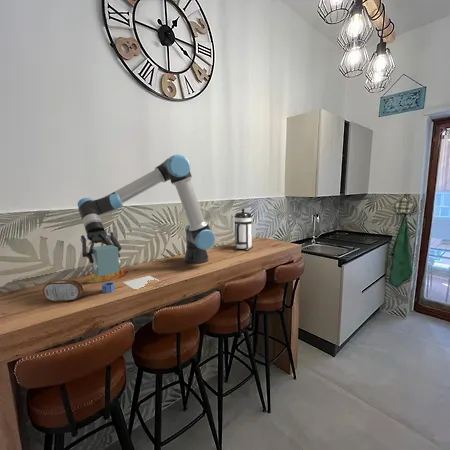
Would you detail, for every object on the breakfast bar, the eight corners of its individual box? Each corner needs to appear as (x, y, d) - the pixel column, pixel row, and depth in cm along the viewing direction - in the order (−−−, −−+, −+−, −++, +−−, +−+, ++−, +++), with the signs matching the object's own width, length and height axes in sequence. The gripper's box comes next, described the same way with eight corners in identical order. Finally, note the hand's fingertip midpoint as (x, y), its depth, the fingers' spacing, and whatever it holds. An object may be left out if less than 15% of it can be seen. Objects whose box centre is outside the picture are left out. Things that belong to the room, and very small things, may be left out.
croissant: (84, 292, 125) (83, 280, 121) (80, 278, 132) (80, 266, 128) (129, 282, 137) (130, 271, 133) (124, 269, 144) (124, 258, 140)
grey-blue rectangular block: (112, 267, 121) (110, 244, 120) (119, 271, 115) (117, 247, 113) (92, 271, 115) (90, 247, 114) (98, 276, 109) (96, 250, 108)
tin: (84, 298, 110) (82, 278, 109) (80, 301, 107) (78, 281, 106) (47, 299, 110) (45, 280, 108) (42, 302, 106) (40, 282, 105)
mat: (149, 276, 136) (149, 275, 136) (163, 282, 126) (163, 282, 126) (122, 283, 127) (122, 282, 127) (135, 290, 117) (134, 289, 117)
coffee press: (229, 248, 199) (228, 208, 195) (248, 246, 204) (248, 207, 200) (237, 253, 183) (236, 210, 179) (258, 251, 187) (258, 209, 183)
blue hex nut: (114, 288, 120) (114, 281, 119) (114, 292, 115) (114, 285, 115) (102, 290, 118) (102, 283, 117) (102, 294, 113) (101, 286, 113)
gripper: (115, 228, 131) (130, 265, 122) (66, 233, 117) (79, 276, 107) (118, 218, 127) (134, 256, 117) (68, 222, 112) (81, 266, 103)
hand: (108, 266), depth 112 cm, fingers closed on grey-blue rectangular block, 9 cm apart
